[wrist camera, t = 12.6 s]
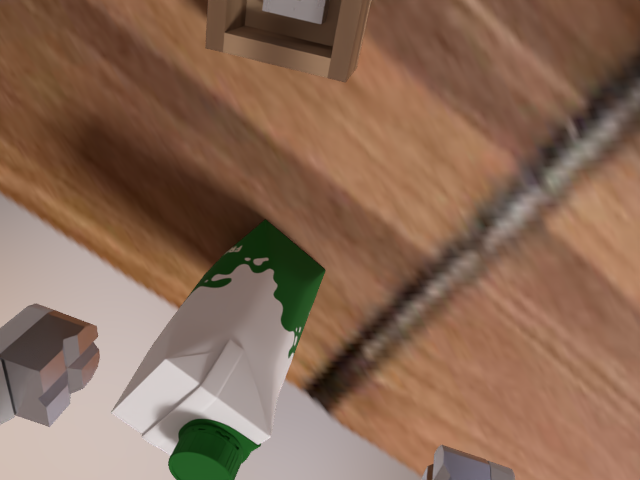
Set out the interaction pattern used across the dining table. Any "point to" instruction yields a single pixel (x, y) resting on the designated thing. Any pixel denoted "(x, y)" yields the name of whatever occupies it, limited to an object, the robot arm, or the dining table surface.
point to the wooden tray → (290, 36)
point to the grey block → (299, 9)
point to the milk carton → (224, 358)
